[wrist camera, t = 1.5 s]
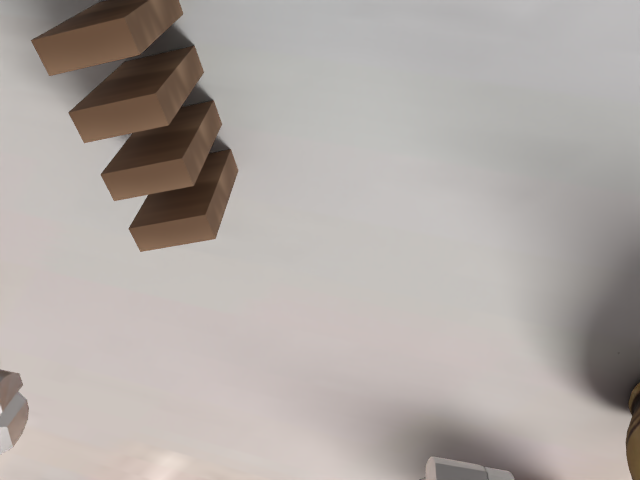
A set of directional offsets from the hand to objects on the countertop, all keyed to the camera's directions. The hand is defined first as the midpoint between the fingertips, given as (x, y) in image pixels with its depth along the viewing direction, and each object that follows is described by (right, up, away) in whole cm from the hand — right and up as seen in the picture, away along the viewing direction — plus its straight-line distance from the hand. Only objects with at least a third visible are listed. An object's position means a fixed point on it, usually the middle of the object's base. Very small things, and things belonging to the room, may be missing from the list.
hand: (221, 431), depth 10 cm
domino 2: (-9, +15, +25) cm, 31 cm away
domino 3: (-8, +12, +27) cm, 31 cm away
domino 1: (-9, +19, +23) cm, 31 cm away
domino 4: (-7, +9, +29) cm, 32 cm away
